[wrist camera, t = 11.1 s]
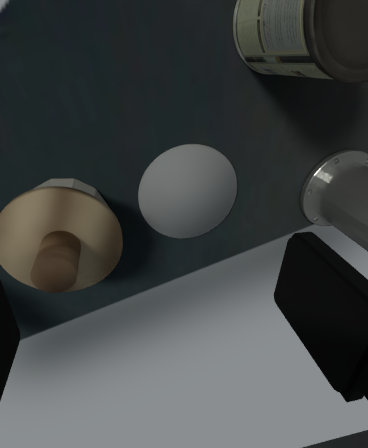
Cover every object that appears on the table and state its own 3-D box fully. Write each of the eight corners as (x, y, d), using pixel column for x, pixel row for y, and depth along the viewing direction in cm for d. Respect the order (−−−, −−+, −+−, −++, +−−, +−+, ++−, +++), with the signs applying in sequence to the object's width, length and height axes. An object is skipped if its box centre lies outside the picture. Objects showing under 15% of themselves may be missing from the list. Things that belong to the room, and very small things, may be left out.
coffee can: (319, -54, 28) (471, -133, 17) (317, 61, 34) (429, 62, 22) (224, -28, 28) (312, -91, 16) (237, 85, 33) (310, 100, 21)
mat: (244, 144, 37) (245, 145, 37) (228, 234, 44) (228, 235, 44) (138, 142, 34) (138, 143, 34) (138, 240, 41) (138, 241, 40)
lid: (120, 185, 30) (123, 212, 24) (123, 279, 36) (126, 316, 31) (-20, 187, 27) (-51, 218, 21) (11, 290, 33) (-7, 333, 28)
